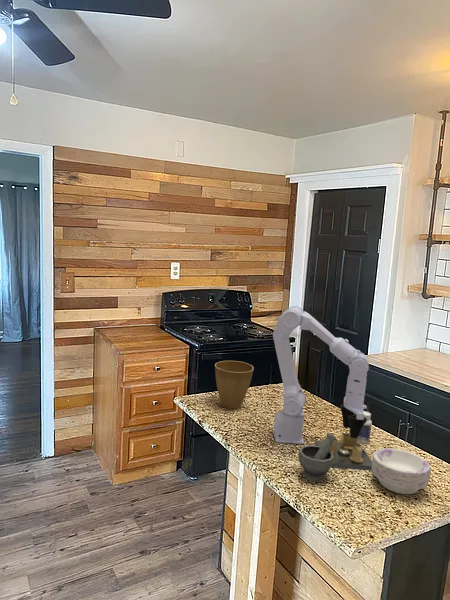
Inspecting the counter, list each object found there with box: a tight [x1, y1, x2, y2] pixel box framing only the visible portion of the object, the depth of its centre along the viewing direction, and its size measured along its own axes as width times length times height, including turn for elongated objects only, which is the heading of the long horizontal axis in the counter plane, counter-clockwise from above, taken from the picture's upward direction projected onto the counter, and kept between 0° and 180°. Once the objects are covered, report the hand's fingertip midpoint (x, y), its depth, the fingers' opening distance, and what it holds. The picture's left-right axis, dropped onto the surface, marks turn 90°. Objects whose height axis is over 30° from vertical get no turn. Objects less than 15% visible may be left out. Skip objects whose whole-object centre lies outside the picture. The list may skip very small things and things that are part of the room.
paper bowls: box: [370, 447, 431, 495], centre depth 131 cm, size 15×15×8 cm
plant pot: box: [214, 360, 255, 410], centre depth 180 cm, size 15×15×16 cm
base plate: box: [314, 440, 372, 471], centre depth 146 cm, size 15×15×2 cm
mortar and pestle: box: [298, 432, 337, 483], centre depth 132 cm, size 11×9×12 cm
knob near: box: [349, 443, 364, 463], centre depth 142 cm, size 4×4×4 cm
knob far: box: [339, 432, 358, 450], centre depth 150 cm, size 4×4×4 cm
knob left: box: [321, 436, 339, 454], centre depth 146 cm, size 4×4×4 cm
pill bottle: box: [357, 410, 373, 444], centre depth 160 cm, size 5×5×10 cm
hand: (350, 432), depth 150 cm, fingers open, 7 cm apart
